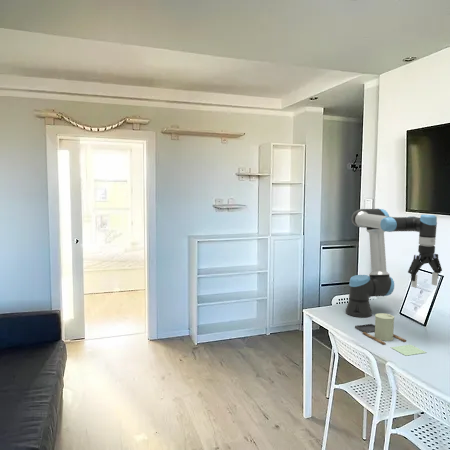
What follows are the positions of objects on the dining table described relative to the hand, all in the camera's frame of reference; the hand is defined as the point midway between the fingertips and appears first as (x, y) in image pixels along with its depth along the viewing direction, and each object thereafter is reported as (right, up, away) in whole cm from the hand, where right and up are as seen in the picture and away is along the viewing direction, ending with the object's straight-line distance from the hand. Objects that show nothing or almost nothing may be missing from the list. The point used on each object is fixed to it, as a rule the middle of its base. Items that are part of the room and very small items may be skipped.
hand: (424, 286), depth 204 cm
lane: (-20, -27, +1) cm, 34 cm away
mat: (-15, -28, -15) cm, 35 cm away
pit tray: (-24, -26, +13) cm, 38 cm away
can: (-20, -27, +1) cm, 34 cm away
